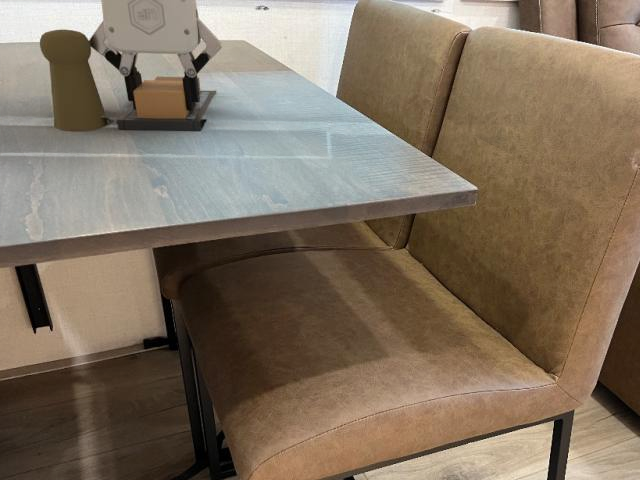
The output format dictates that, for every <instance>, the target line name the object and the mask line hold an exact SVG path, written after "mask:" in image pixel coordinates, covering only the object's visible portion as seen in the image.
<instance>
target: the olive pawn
mask: <svg viewBox="0 0 640 480" xmlns="http://www.w3.org/2000/svg"><path fill="white" fill-rule="evenodd" d="M89 40H90V39H89V38H88V37H87V36H86V34H84V33H83V32H82V31H77V30H72V29H54V30H49V31H45V32H44V33H43V34H41V37H40V39H39V48H40V51H41V53H42V55H43V57H44V58H45V59H46V60H47V61H48V63H49V74H50V75H49V76H50V86H51V87H50V88H51V100H52V112H53V125H54V128H55V129H57V130H59V131H63V132H74V133H76V132H91V131H96V130H101V129H104V128H106V127H107V126H108V125H109V121H108V118H107V117H105V115H106V111H105V109H104V105H103V102H102V99H101V97H100V93H99V90H98V86H97V84H96V81H95V77H94V74H93V72H92V69H91V65H90V63H89V60H90V57H91V56H92V47H91V46H90V42H89Z"/></svg>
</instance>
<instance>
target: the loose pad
mask: <svg viewBox="0 0 640 480" xmlns="http://www.w3.org/2000/svg"><path fill="white" fill-rule="evenodd" d="M133 93H134V99H135V105H136V110H135V111H136V115H137V117H136V118H164V119H187V116H188V115H189V113H190V112H191V111H188V110H187V109H186V101H185V93H184V88H183V81H162V80H154V79H152V80H151V79H150V80H149V79H145V80H142V83H141V84H140V85H139V86H138V87H137V88H136V89H135V90H134V91H133Z"/></svg>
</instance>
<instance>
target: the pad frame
mask: <svg viewBox="0 0 640 480" xmlns="http://www.w3.org/2000/svg"><path fill="white" fill-rule="evenodd" d="M200 91H201V93H208V95H207V96H206V98H205V100H204V102H203V103H202V105H201V107H200V108H199V110H198V112H197V114H196V115H195V117H194V118H185V119H183V118H138V117H128V116H129V115H130V114H131V113H132V112H133V111H135V110H134V107H133V103H131V105H130V106H129V107H127V109H125V111H124V112H123V113H122V114H121V115H120V116H119V117H118V118H117V119H116V123H117V128H118V131H142V132H143V131H144V132H145V131H146V132H147V131H149V132H153V131H154V132H202V130H203V128H204V126H205V124H206V122H207V121H208V119H207V118H203V116H204V115H205V112H207V109H208V107H209V105H210V104H211V102H212V100H213V98H214V96H215V95H216V93H217V90H200Z"/></svg>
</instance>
